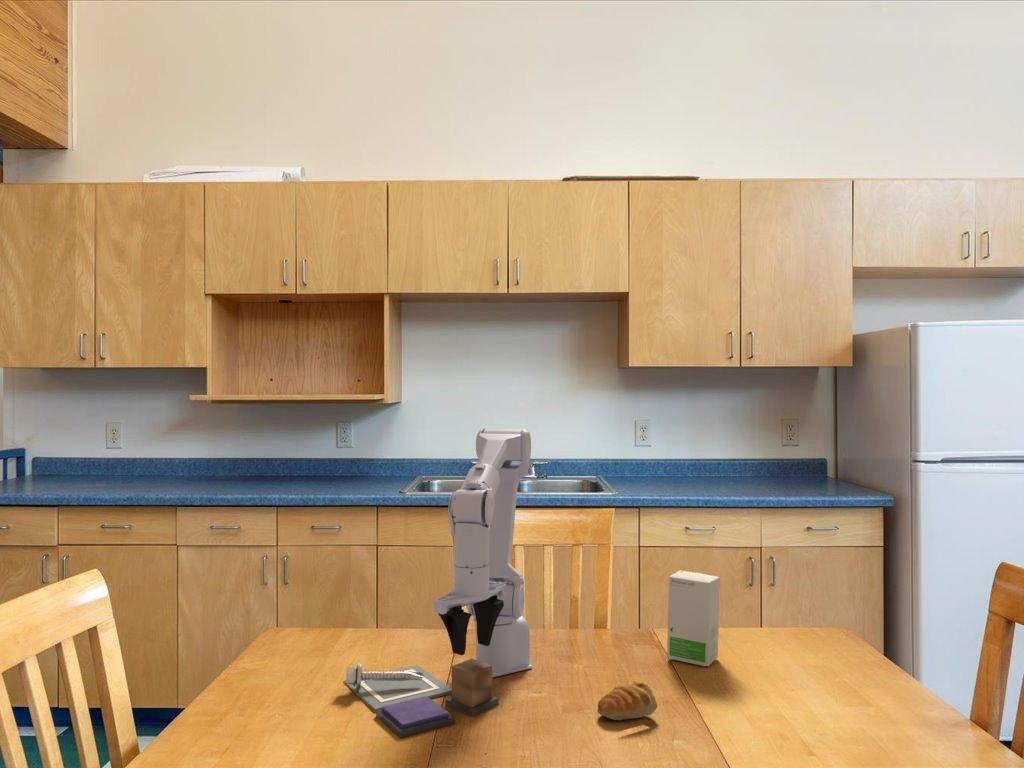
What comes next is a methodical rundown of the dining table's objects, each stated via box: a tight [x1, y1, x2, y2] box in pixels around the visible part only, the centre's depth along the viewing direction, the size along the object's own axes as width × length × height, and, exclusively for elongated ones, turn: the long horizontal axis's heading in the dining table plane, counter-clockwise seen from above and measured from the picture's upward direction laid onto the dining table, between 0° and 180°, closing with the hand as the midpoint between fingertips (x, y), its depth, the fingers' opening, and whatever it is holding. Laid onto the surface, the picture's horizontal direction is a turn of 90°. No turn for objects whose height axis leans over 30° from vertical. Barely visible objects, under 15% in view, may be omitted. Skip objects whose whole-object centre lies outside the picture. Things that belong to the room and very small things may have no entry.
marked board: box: [343, 664, 452, 713], centre depth 130 cm, size 14×14×1 cm
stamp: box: [445, 658, 499, 718], centre depth 123 cm, size 6×6×6 cm
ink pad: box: [375, 696, 456, 739], centre depth 118 cm, size 9×9×2 cm
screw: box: [345, 660, 424, 692], centre depth 129 cm, size 13×5×5 cm, turn 101°
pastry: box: [596, 681, 658, 721], centre depth 120 cm, size 9×7×4 cm
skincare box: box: [666, 569, 721, 667], centre depth 145 cm, size 8×7×16 cm
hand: (471, 648), depth 123 cm, fingers open, 5 cm apart
